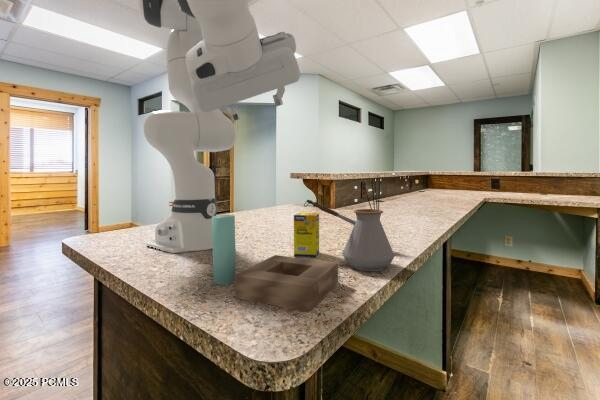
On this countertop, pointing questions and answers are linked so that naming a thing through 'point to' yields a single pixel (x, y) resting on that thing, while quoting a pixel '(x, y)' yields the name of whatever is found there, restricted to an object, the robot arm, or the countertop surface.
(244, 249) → the countertop surface
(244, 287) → the socket block
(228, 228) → the peg
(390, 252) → the coffee pot
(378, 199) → the reed diffuser
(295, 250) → the supplement box
